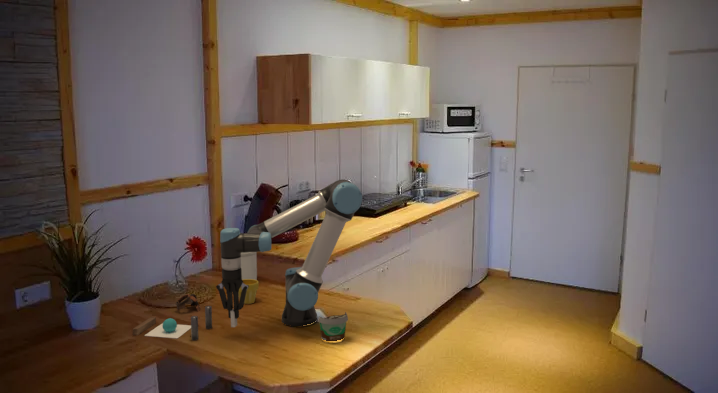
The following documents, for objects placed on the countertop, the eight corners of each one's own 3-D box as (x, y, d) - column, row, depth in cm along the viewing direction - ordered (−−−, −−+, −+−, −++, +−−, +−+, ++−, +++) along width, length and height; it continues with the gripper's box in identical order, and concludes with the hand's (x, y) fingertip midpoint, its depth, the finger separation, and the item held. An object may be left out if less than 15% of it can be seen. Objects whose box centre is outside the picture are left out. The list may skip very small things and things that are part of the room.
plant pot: (254, 297, 281) (253, 277, 280) (262, 303, 273) (261, 282, 271) (233, 300, 276) (232, 280, 275) (240, 306, 267) (240, 285, 266)
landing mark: (193, 326, 242) (193, 325, 242) (177, 338, 228) (177, 338, 228) (162, 323, 244) (162, 323, 244) (144, 335, 231) (144, 335, 231)
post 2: (213, 327, 241) (212, 306, 240) (210, 329, 238) (209, 308, 237) (207, 326, 241) (206, 305, 240) (204, 328, 239) (203, 307, 238)
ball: (164, 325, 238) (175, 332, 238) (157, 329, 233) (169, 336, 232) (170, 314, 237) (181, 321, 237) (163, 318, 232) (175, 325, 232)
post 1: (199, 338, 229) (198, 316, 228) (196, 340, 226) (195, 318, 225) (193, 337, 229) (192, 315, 228) (190, 340, 227) (189, 317, 225)
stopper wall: (155, 323, 245) (155, 317, 245) (137, 335, 231) (137, 329, 231) (151, 322, 245) (151, 317, 245) (132, 334, 232) (132, 328, 231)
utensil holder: (224, 285, 300) (223, 252, 298) (234, 278, 314) (234, 246, 312) (251, 287, 298) (251, 253, 295) (261, 279, 312) (260, 247, 310)
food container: (324, 346, 222) (324, 321, 220) (317, 341, 227) (317, 316, 226) (353, 341, 227) (353, 316, 226) (346, 336, 233) (346, 311, 231)
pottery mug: (198, 314, 257) (188, 300, 255) (180, 322, 259) (170, 308, 257) (206, 299, 269) (196, 285, 266) (189, 307, 270) (179, 293, 268)
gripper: (211, 269, 225) (214, 328, 229) (243, 271, 223) (246, 330, 226) (219, 264, 233) (222, 321, 236) (250, 265, 230) (253, 323, 234)
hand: (234, 325), depth 231 cm, fingers closed
